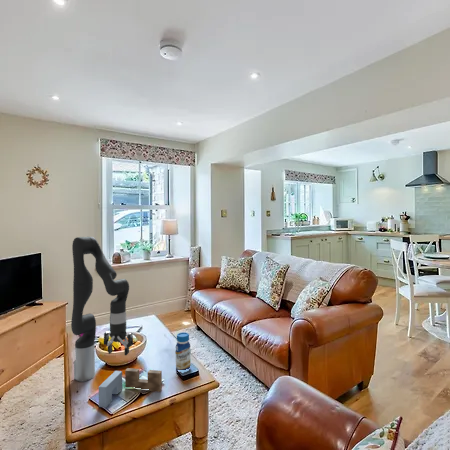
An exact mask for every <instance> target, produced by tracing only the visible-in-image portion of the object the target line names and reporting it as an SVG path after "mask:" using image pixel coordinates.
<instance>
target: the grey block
mask: <svg viewBox="0 0 450 450" xmlns="http://www.w3.org/2000/svg"><path fill="white" fill-rule="evenodd" d="M121 389H122V390H123V370H122V371H121V370H114V371H113V373H111V375H109V376H108V377H107V378H106V379H105V380H104V381H103V382H102V383H101V384H100V385H99V386H98V407H99V408H107V407H108V406H109V405H110V403H112V401H113V395H112V394H118V393H119V391H120V390H121ZM122 390H121V391H122ZM121 391H120V392H121ZM119 394H120V393H119ZM119 394H118V395H119Z"/></svg>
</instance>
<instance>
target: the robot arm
mask: <svg viewBox="0 0 450 450" xmlns="http://www.w3.org/2000/svg"><path fill="white" fill-rule="evenodd" d="M71 245H72V251H71V252H72V261H73V284H72V285H73V287H72V288H73V290H72V293H73V296H72V297H73V299H72V300H73V301H72V313H71V324H70V326H71V331H72V334H73V335H74V336H80V337H78V338H77V339H76V340H75V343H74V344H75V346H74V347H75V351H74V352H75V354H74V356H75V360H74V361H73V379H74V380H75V381H77V382H80V383H81V382H87V381H90V380H92V379H93V378H94V377H95V375H96V364H95V363H96V361H95V360H96V359H95V358H96V356H95V353H96V352H95V340H96V336H97V335H96V332H97V331H96V329H97V321H96V317H95V315H94V314H93V313H86V314H83V313H84V308H85V306H86V304H87V302H88V301H89V299H90V297H91V295H92V293H93V290H94V279H93V278H94V277H93V276H92V274H91V273H90V271H89V270H88V268H87V267H86V265H85V255H89V254H91V255H92V256H93V257H94V259H95V263H94V264H95V267H94V268H95V271H96V273H97V275H98V276H99V277H100V279H101V280H102V282H103V285H104V288H105V292H106V293H107V294H108V295H109V296H112V297H113V296H115V298H113V299H112V300H111V301H110V303H109V304H110V307H109V308H110V311H109V312H110V314H109V315H110V316H109V330H107V331H105V332H103V345H106V347H107V353H108V354H109V355H110V354H112V353H113V343H118V344H119V343H121V345H123V347H124V349H123V350H124V356H127V355H129V353H130V347H132V346H133V345H134V340H133V333H132V332H130V333H127V309H126V308H127V307H126V306H127V304H126V302H127V299H128V296H129V293H130V292H129V291H130V285H129V281H128V280H127V279H126V278H121V279H116V278H117V275H118V274H117V271H116V270H115V269H114V267H113V266H112V265H111V264H110V263H109V261H108V260H107V258H106V256H105V254H104V252H103V250H102V248H101V246H100V244H99V242H98V240H97V239H96V238H95V237H94V236H79V237H77V236H76V237H75V238H74V239H73V241H72V244H71ZM115 279H116V280H115ZM83 333H84V334H83ZM81 334H83V335H82V336H81Z"/></svg>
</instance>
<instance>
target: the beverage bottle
mask: <svg viewBox="0 0 450 450" xmlns="http://www.w3.org/2000/svg"><path fill="white" fill-rule="evenodd" d="M189 341H190V334H189V333H188V332H186V331H185V332H184V331H183V332H178V333H177V334H176V342H177V343H176V344H175V371H177V370H186V369H189V368H190V366H192V365H191V359H192V358H191V357H192V356H191V352H192V351H191V343H190V342H189Z"/></svg>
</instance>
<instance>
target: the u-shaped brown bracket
mask: <svg viewBox="0 0 450 450" xmlns="http://www.w3.org/2000/svg"><path fill="white" fill-rule="evenodd" d="M162 371H163V370H154V369H149V370H148V371H147V379H145V378H144V379H143V378H140V368H132V367H130V368H129V367H127V368H126V369H125V370H124V383H125V385H124V386H125V387H135V388H141V389H149V390H150V391H149V392H157V393H161V391H162V389H163V384H162V383H163V381H162V380H163V375H162ZM125 387H124V388H125Z"/></svg>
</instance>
